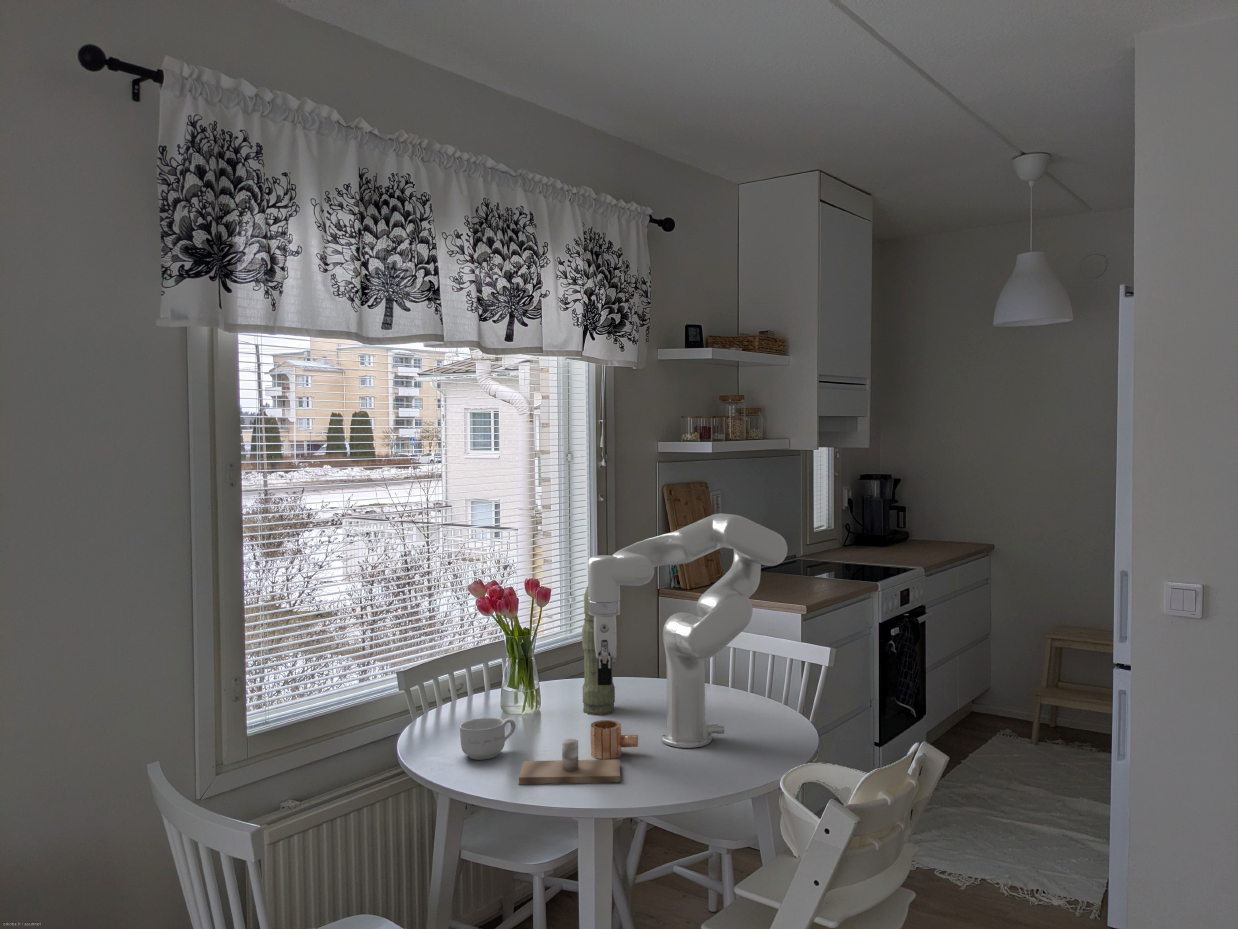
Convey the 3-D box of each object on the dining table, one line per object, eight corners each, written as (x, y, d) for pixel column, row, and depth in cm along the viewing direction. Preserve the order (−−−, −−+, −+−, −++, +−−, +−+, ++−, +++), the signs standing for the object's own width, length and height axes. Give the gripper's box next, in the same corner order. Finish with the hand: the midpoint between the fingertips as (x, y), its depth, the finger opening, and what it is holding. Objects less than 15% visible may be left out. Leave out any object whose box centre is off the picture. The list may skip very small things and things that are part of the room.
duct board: (619, 766, 198) (618, 733, 198) (620, 782, 188) (619, 748, 188) (523, 767, 197) (522, 735, 197) (518, 784, 187) (518, 750, 187)
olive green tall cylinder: (604, 703, 248) (603, 581, 247) (622, 714, 237) (620, 587, 237) (575, 707, 244) (574, 583, 244) (592, 718, 233) (591, 589, 233)
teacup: (465, 766, 198) (465, 732, 198) (455, 752, 208) (454, 719, 208) (523, 757, 204) (523, 723, 204) (510, 743, 214) (510, 711, 214)
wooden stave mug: (591, 749, 209) (591, 720, 209) (637, 748, 209) (637, 719, 209) (590, 759, 202) (590, 729, 202) (638, 758, 202) (638, 729, 202)
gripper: (620, 614, 197) (621, 689, 197) (619, 601, 214) (619, 670, 214) (587, 614, 196) (588, 689, 197) (589, 601, 214) (589, 670, 214)
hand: (604, 679), depth 205 cm, fingers open, 9 cm apart
